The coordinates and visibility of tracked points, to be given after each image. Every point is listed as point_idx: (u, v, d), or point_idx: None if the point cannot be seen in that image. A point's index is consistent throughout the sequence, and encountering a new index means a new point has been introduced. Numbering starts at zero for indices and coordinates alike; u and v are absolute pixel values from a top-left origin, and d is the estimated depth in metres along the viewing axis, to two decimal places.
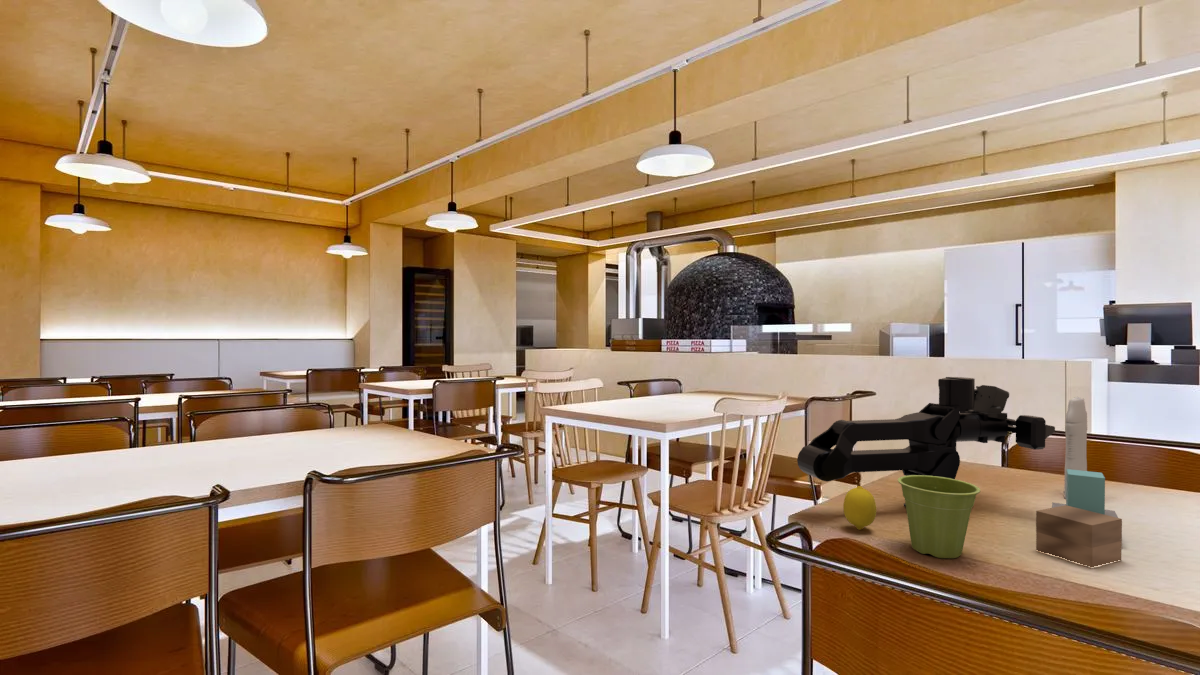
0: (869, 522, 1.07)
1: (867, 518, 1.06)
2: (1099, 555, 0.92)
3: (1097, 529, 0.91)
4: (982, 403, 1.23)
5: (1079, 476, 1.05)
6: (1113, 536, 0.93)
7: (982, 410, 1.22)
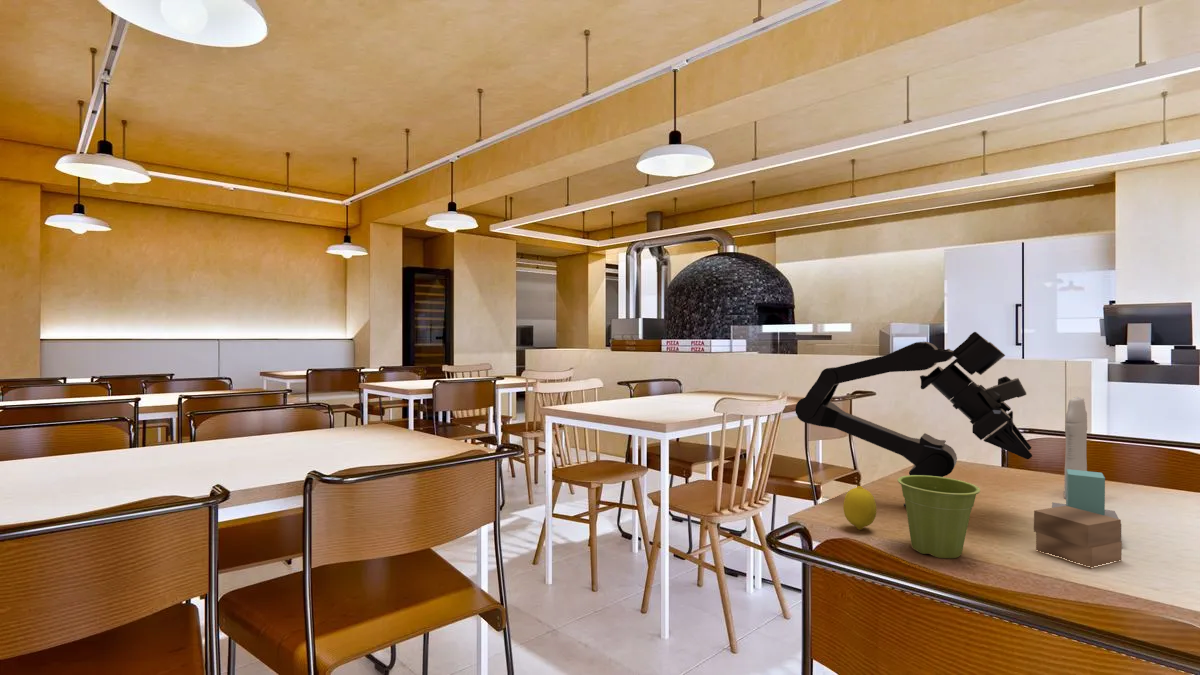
0: (869, 522, 1.07)
1: (866, 518, 1.06)
2: (1098, 556, 0.92)
3: (1093, 529, 0.92)
4: (995, 386, 1.14)
5: (1079, 476, 1.05)
6: (1112, 537, 0.93)
7: (986, 389, 1.14)
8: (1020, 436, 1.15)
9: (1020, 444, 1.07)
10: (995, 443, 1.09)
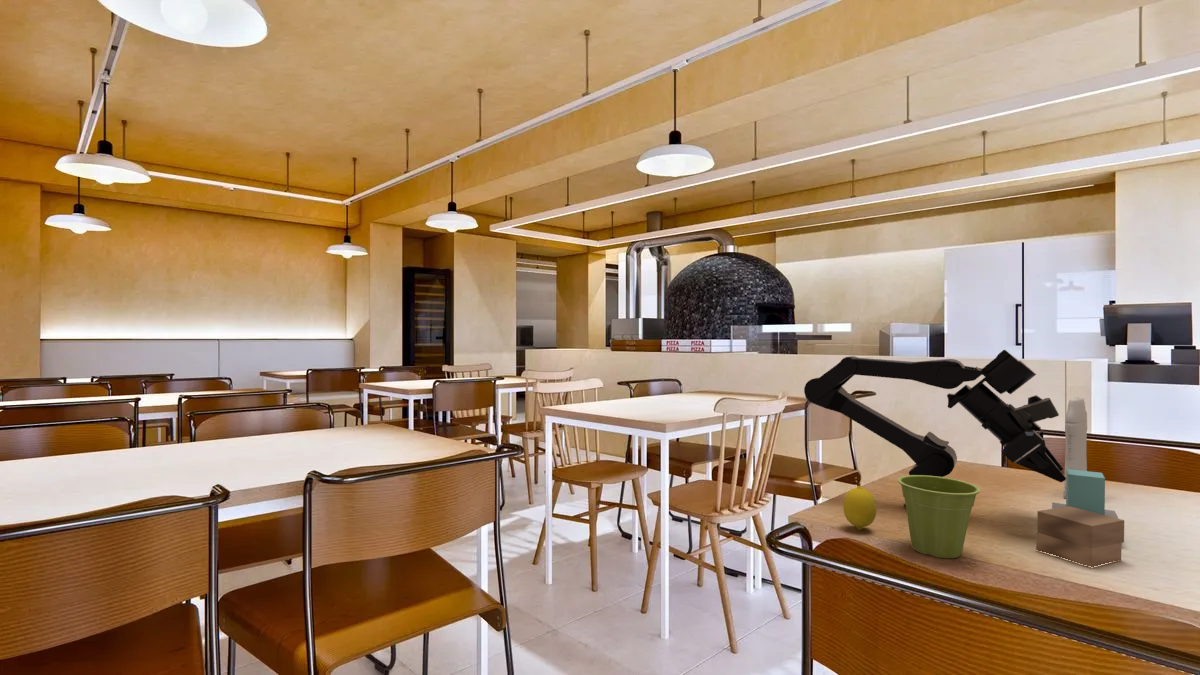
0: (869, 522, 1.07)
1: (867, 518, 1.06)
2: (1098, 556, 0.92)
3: (1097, 530, 0.91)
4: (1025, 406, 1.11)
5: (1079, 476, 1.05)
6: (1115, 538, 0.93)
7: (1017, 409, 1.11)
8: (1051, 457, 1.13)
9: (1053, 467, 1.04)
10: (1027, 465, 1.06)
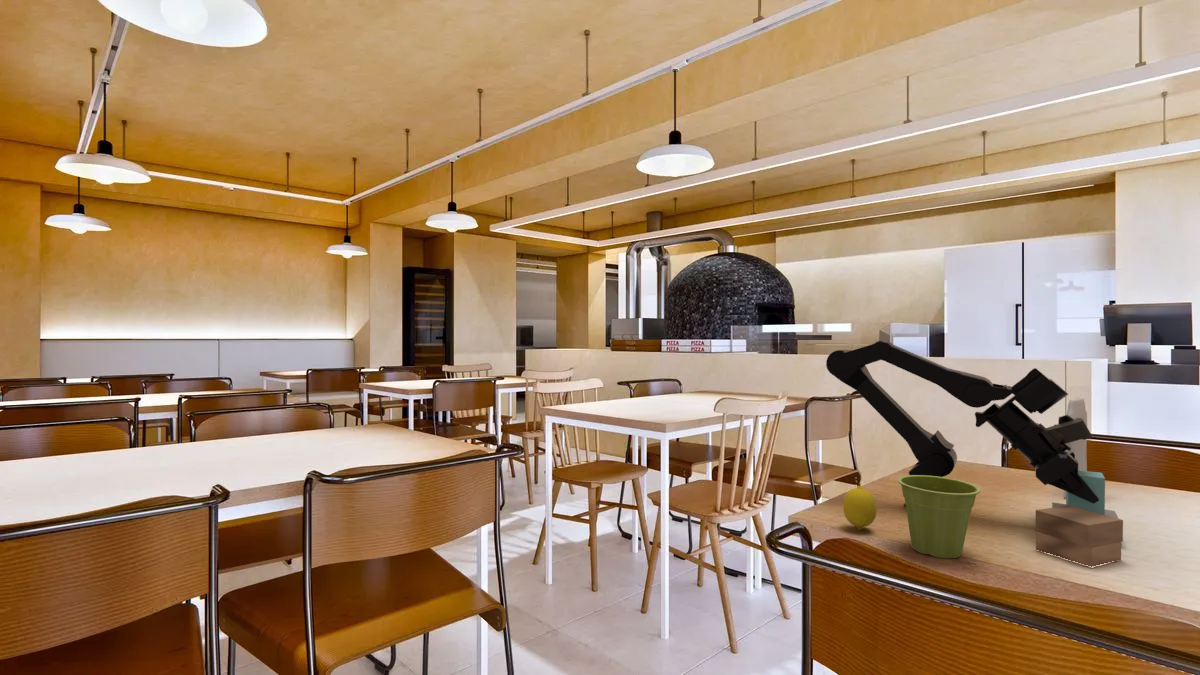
0: (869, 522, 1.07)
1: (867, 518, 1.06)
2: (1098, 556, 0.92)
3: (1093, 529, 0.92)
4: (1057, 426, 1.08)
5: None
6: (1113, 537, 0.93)
7: (1048, 429, 1.09)
8: None
9: (1086, 487, 1.03)
10: (1059, 486, 1.05)
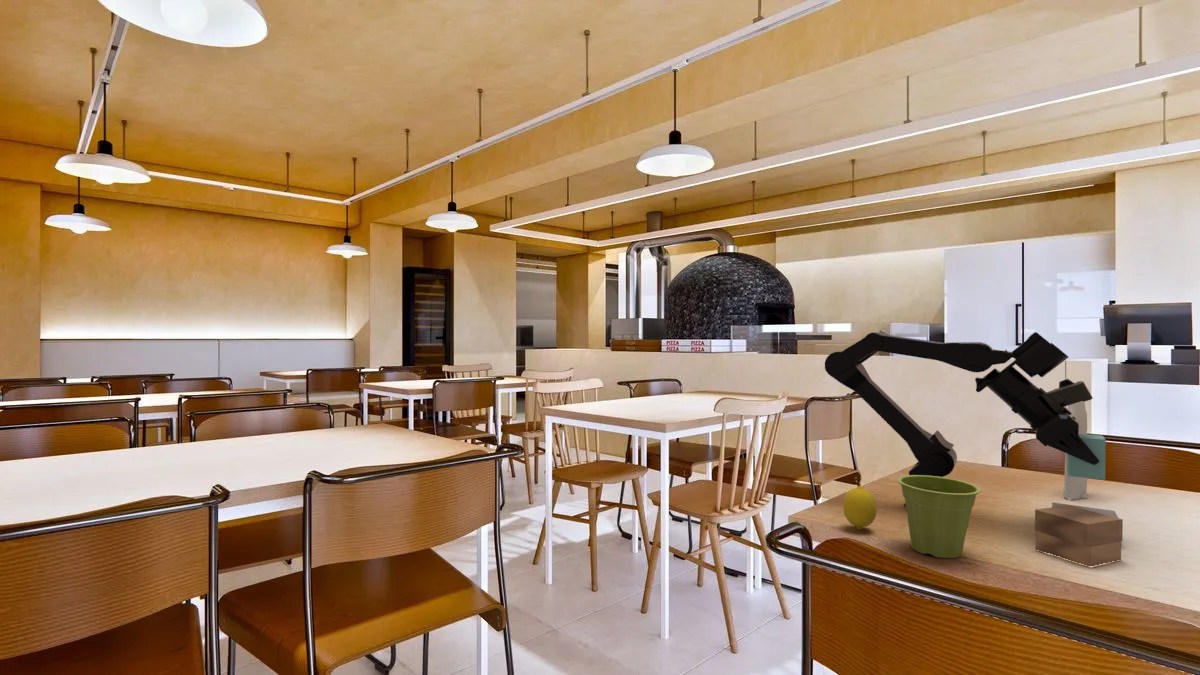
0: (869, 522, 1.07)
1: (867, 518, 1.06)
2: (1098, 555, 0.92)
3: (1093, 528, 0.92)
4: (1057, 389, 1.08)
5: None
6: (1113, 537, 0.93)
7: (1048, 392, 1.09)
8: None
9: (1086, 449, 1.03)
10: (1059, 448, 1.05)
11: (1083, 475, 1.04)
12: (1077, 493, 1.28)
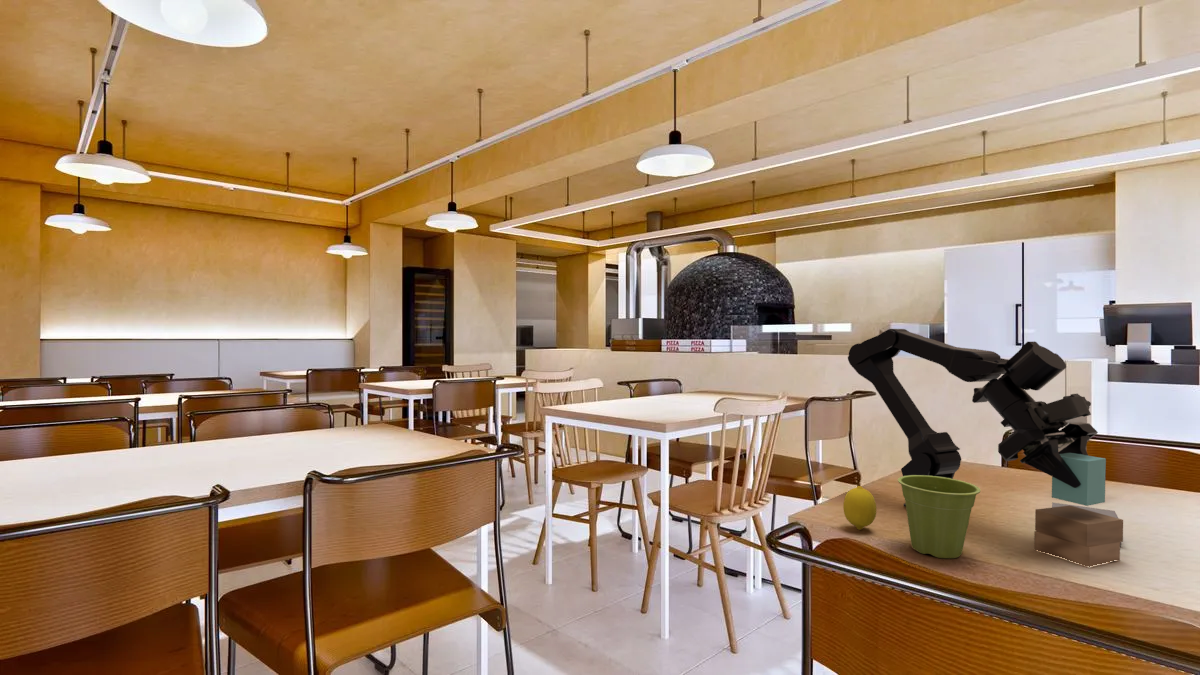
0: (869, 522, 1.07)
1: (867, 518, 1.06)
2: (1096, 555, 0.92)
3: (1093, 528, 0.92)
4: None
5: (1063, 458, 0.96)
6: (1113, 537, 0.93)
7: None
8: None
9: (1064, 469, 0.95)
10: (1035, 466, 0.98)
11: (1066, 498, 0.96)
12: None
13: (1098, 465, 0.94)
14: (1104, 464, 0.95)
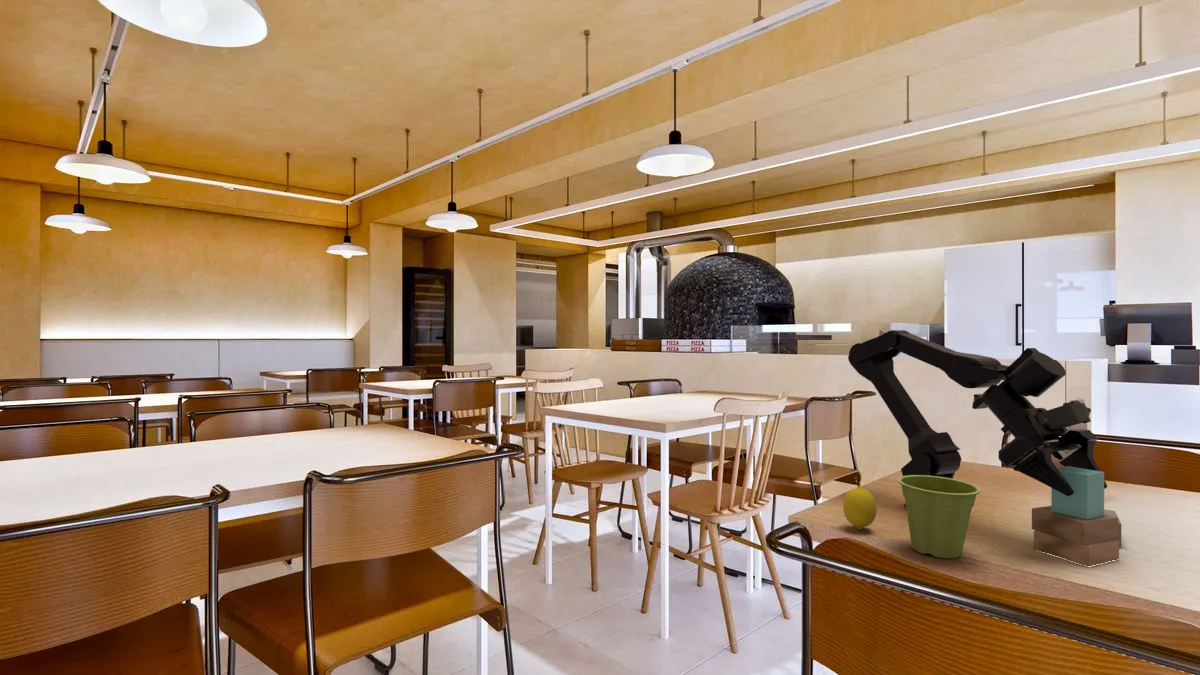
0: (869, 522, 1.07)
1: (867, 518, 1.06)
2: (1095, 554, 0.92)
3: (1089, 527, 0.92)
4: None
5: (1062, 471, 0.96)
6: (1109, 535, 0.94)
7: None
8: None
9: (1057, 478, 0.94)
10: (1029, 473, 0.97)
11: (1066, 512, 0.96)
12: None
13: (1096, 478, 0.94)
14: (1102, 478, 0.95)
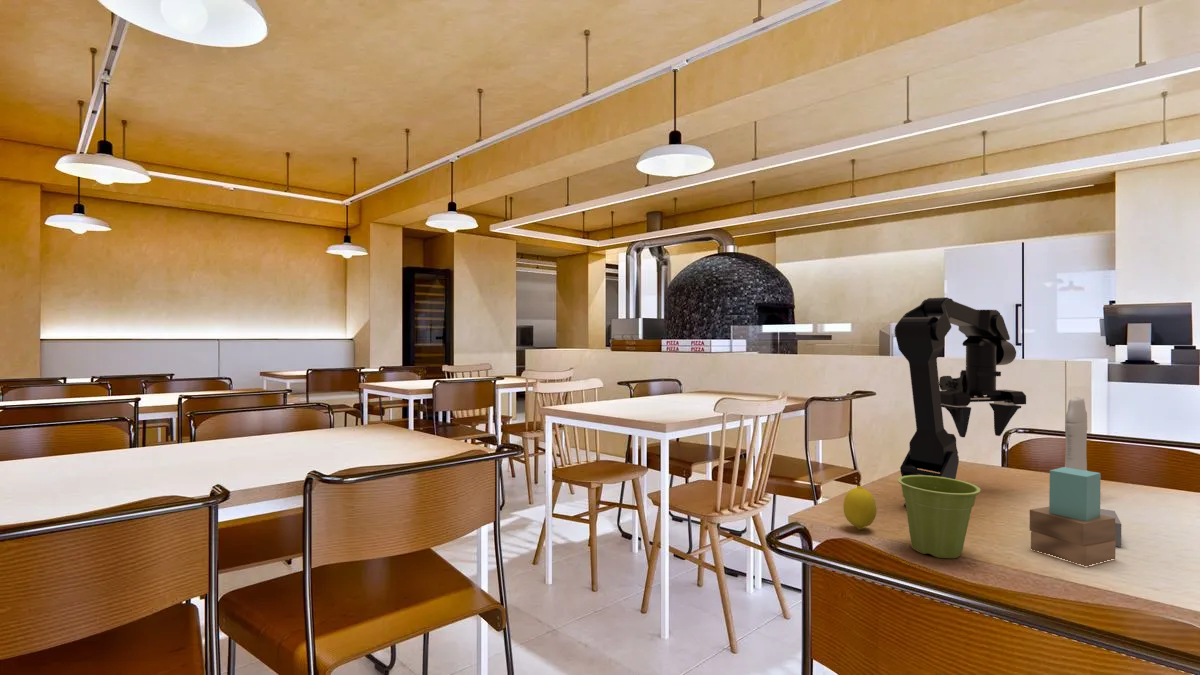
0: (869, 522, 1.07)
1: (867, 518, 1.06)
2: (1093, 555, 0.92)
3: (1088, 528, 0.92)
4: None
5: (1060, 473, 0.96)
6: (1106, 535, 0.94)
7: None
8: None
9: None
10: None
11: (1064, 514, 0.95)
12: None
13: (1094, 480, 0.94)
14: (1099, 479, 0.95)
